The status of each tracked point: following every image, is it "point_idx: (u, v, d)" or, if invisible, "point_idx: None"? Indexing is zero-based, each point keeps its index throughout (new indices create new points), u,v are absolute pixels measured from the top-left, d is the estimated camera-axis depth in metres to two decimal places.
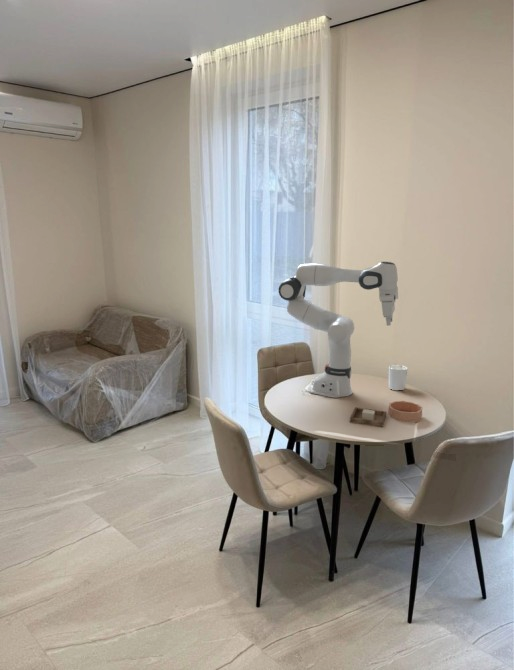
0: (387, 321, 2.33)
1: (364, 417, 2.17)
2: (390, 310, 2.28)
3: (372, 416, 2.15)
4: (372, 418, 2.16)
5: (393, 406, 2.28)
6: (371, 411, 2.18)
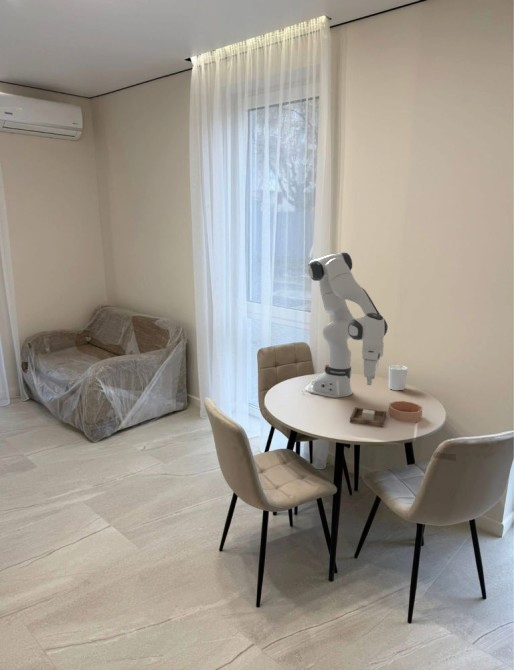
0: (368, 380, 2.09)
1: (364, 417, 2.17)
2: (372, 370, 2.03)
3: (372, 416, 2.15)
4: (372, 418, 2.16)
5: (393, 406, 2.28)
6: (371, 411, 2.18)
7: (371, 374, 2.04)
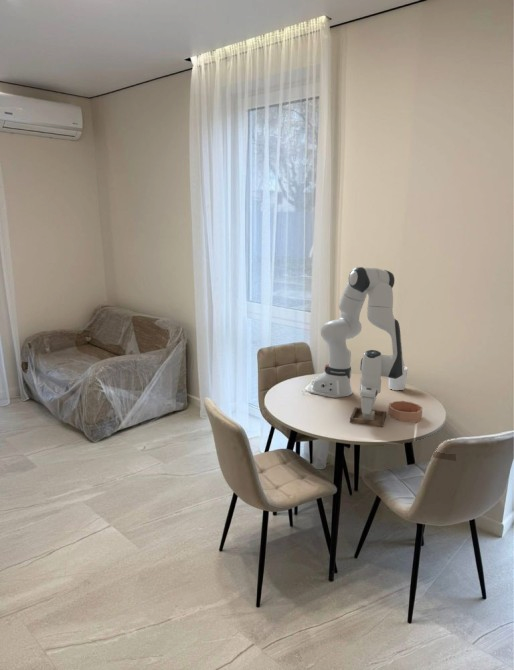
0: (366, 415, 2.15)
1: (364, 417, 2.17)
2: (370, 407, 2.07)
3: (372, 416, 2.15)
4: (372, 418, 2.16)
5: (393, 406, 2.28)
6: (371, 411, 2.18)
7: (369, 411, 2.07)
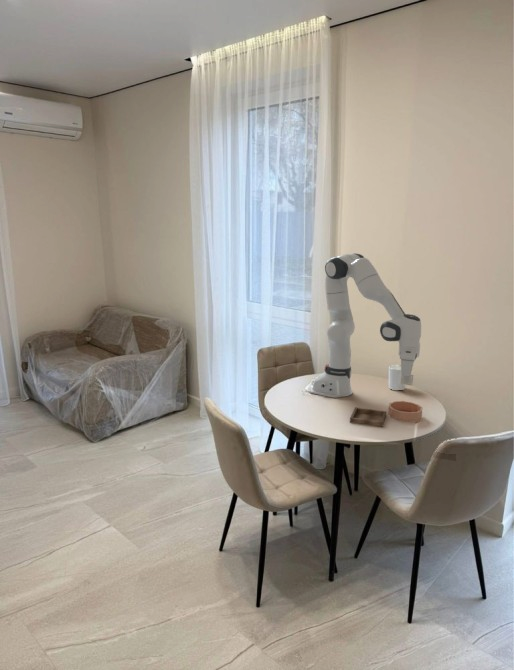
0: (405, 379, 2.16)
1: (402, 381, 2.18)
2: (410, 370, 2.08)
3: (411, 380, 2.17)
4: (411, 382, 2.17)
5: (393, 406, 2.28)
6: None
7: (409, 374, 2.09)
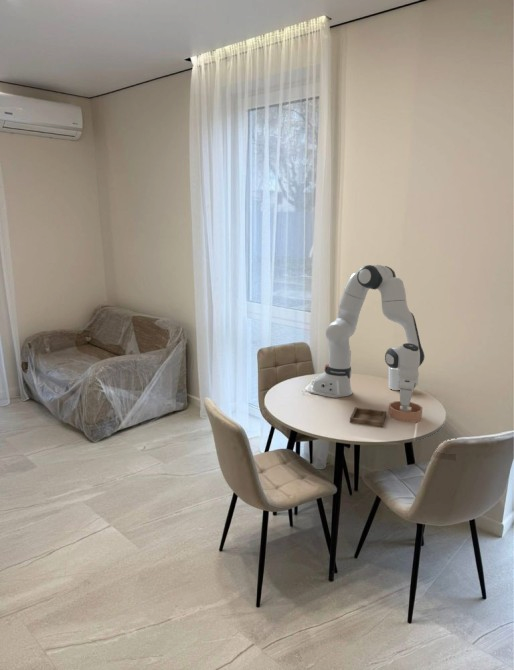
0: (403, 408, 2.17)
1: None
2: (409, 399, 2.12)
3: None
4: None
5: (393, 406, 2.28)
6: (408, 407, 2.23)
7: (407, 403, 2.12)
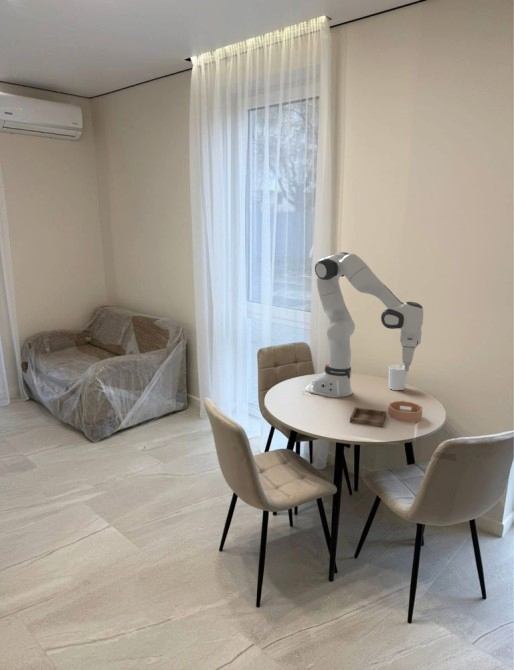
0: (405, 367, 2.16)
1: None
2: (411, 357, 2.10)
3: None
4: None
5: (393, 406, 2.28)
6: (408, 407, 2.23)
7: (410, 360, 2.10)
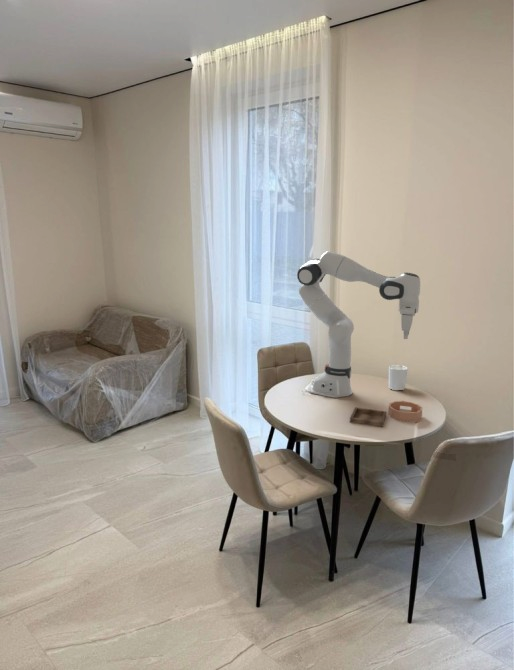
0: (404, 334, 2.26)
1: None
2: (409, 324, 2.20)
3: None
4: None
5: (393, 406, 2.28)
6: (408, 407, 2.23)
7: (408, 327, 2.21)
